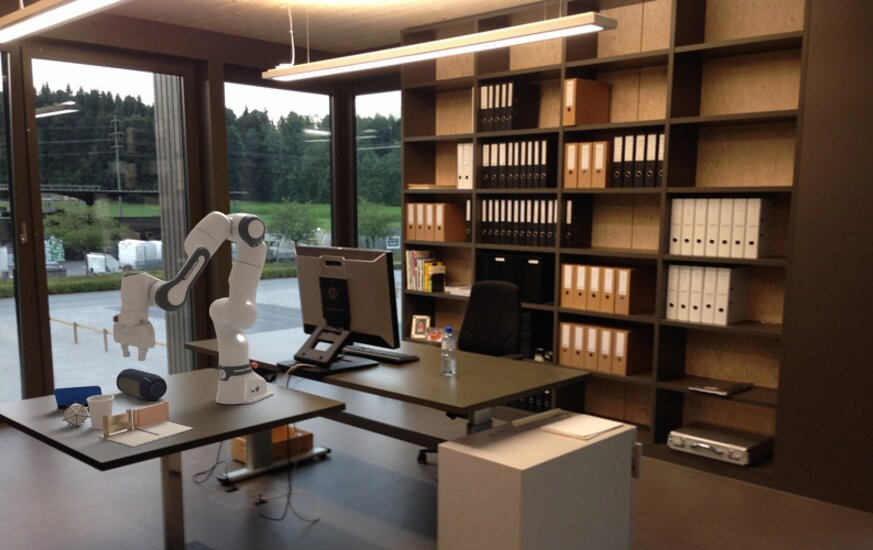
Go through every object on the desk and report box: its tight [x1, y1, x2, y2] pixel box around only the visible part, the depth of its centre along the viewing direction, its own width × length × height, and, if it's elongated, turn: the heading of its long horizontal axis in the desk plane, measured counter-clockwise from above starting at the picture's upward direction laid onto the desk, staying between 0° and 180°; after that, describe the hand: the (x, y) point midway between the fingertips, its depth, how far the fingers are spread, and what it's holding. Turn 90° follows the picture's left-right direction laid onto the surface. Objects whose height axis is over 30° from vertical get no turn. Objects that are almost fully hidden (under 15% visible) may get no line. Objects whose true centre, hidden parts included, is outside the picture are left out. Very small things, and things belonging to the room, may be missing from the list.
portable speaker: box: [115, 368, 168, 401], centre depth 281 cm, size 25×10×10 cm, turn 52°
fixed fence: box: [102, 408, 133, 440], centre depth 232 cm, size 10×2×7 cm, turn 147°
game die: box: [61, 401, 91, 429], centre depth 242 cm, size 9×8×10 cm
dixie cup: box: [87, 394, 115, 430], centre depth 241 cm, size 8×8×10 cm
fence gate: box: [132, 400, 170, 428], centre depth 242 cm, size 14×2×6 cm, turn 147°
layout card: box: [99, 420, 194, 448], centre depth 235 cm, size 22×18×1 cm
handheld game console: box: [53, 385, 103, 410], centre depth 266 cm, size 16×13×9 cm
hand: (134, 358), depth 245 cm, fingers open, 8 cm apart
